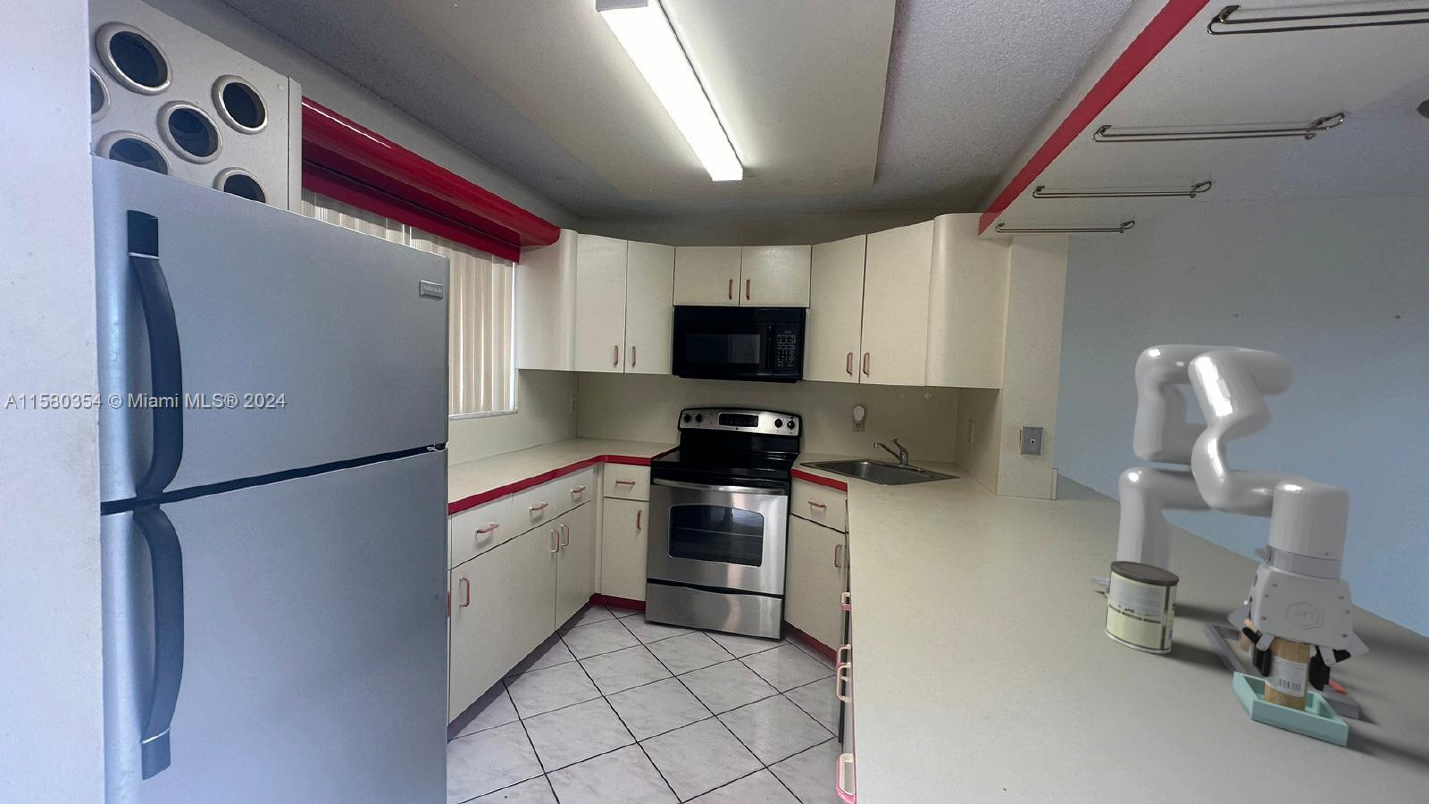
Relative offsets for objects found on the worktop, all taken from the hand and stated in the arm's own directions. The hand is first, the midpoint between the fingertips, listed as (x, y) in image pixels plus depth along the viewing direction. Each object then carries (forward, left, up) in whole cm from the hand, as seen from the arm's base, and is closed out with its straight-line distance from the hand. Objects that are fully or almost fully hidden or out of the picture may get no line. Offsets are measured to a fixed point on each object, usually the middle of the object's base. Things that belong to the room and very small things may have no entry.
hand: (1288, 678), depth 80 cm
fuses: (+3, +23, -6) cm, 24 cm away
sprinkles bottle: (0, 0, -5) cm, 5 cm away
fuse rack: (+3, +18, -6) cm, 20 cm away
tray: (0, 0, -6) cm, 6 cm away
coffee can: (-16, +16, -6) cm, 23 cm away
